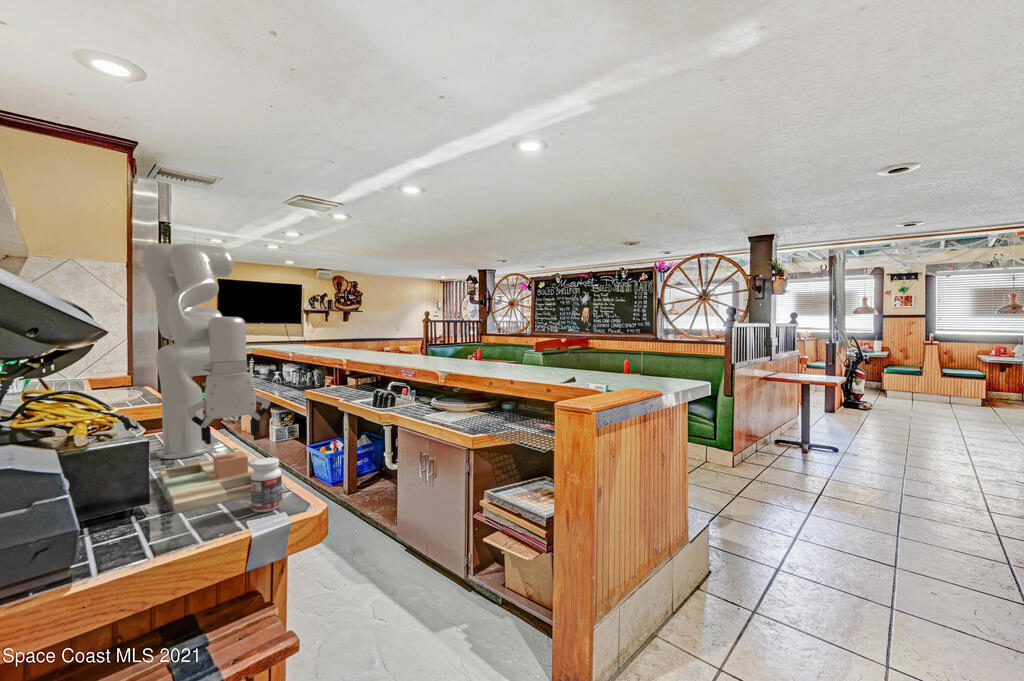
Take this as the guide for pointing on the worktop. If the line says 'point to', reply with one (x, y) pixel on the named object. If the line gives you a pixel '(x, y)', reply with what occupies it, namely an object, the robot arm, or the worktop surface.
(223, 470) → the block
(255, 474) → the pill bottle
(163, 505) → the worktop surface
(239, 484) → the board
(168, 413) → the robot arm
